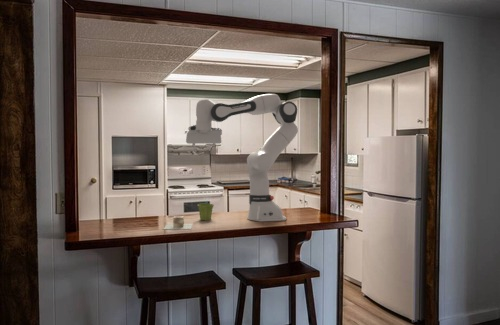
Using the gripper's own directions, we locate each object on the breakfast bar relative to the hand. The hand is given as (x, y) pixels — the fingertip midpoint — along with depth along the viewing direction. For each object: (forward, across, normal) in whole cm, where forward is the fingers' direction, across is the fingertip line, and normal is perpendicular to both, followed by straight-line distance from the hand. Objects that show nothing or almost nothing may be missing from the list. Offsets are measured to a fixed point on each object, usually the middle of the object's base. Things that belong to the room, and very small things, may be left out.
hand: (203, 151), depth 245 cm
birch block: (+39, +12, +24) cm, 47 cm away
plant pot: (+39, -1, +3) cm, 39 cm away
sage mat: (+39, +12, +24) cm, 47 cm away
